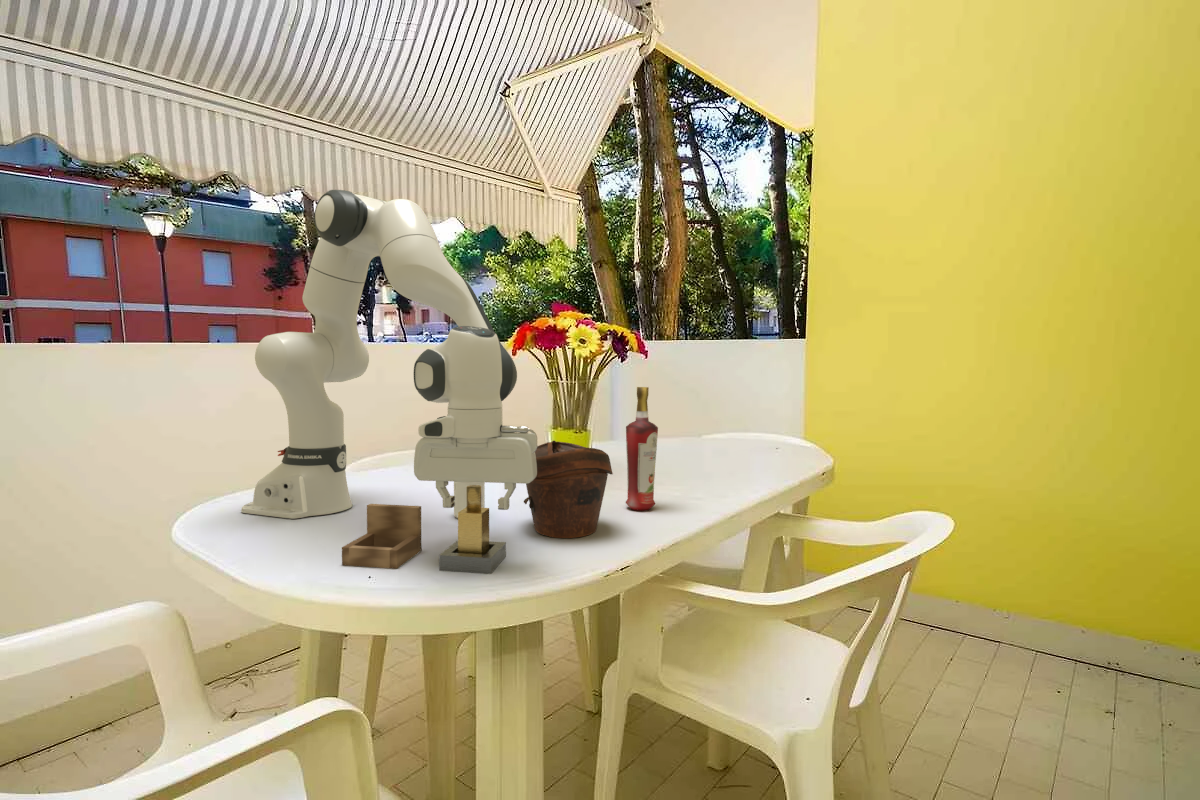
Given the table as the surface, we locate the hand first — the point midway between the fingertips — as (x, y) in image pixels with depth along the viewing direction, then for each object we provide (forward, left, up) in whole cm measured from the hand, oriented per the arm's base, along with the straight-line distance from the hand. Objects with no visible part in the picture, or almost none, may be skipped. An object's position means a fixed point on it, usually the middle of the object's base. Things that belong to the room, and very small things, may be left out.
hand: (476, 508), depth 103 cm
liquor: (+25, +43, -10) cm, 50 cm away
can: (-11, +29, -10) cm, 33 cm away
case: (+11, +23, -10) cm, 27 cm away
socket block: (0, 0, -9) cm, 9 cm away
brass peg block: (0, 0, -9) cm, 9 cm away
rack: (-16, 0, -9) cm, 19 cm away
